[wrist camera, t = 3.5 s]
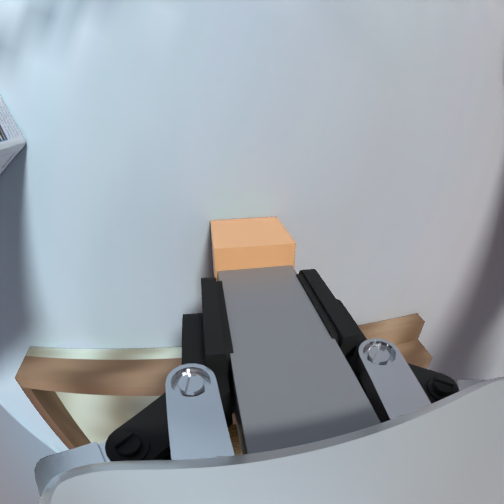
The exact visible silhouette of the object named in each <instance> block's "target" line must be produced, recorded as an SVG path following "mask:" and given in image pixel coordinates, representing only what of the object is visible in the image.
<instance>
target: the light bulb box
mask: <svg viewBox="0 0 504 504" xmlns="http://www.w3.org/2000/svg"><path fill="white" fill-rule="evenodd" d="M25 144H26V142H25V139H24V138H23V136H22V134H21V132H20V131H19V129H18V127H17V125H16V124H15V122H14V120H13V118H12V116H11V114H10V113H9V111H8V109H7V107H6V105H5V103H4V101H3V99H2V97H1V95H0V174H1V173H2V172H3V170H4V169H5V168H6V167H7V165H8V164H9V163H10V162H11V161H12V160H13V158H14V157H15V156H16V155H17V154H18V153H19V151H20V150H21V149H22V148H23V147H24V146H25Z"/></svg>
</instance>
